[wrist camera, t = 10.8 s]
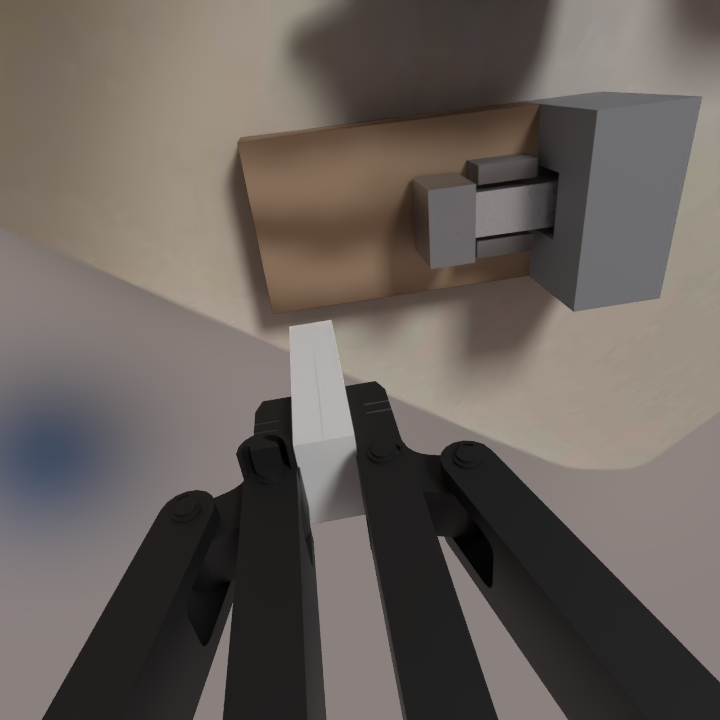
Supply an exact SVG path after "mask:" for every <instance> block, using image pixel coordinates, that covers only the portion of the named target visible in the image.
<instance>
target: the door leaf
mask: <svg viewBox="0 0 720 720" xmlns="http://www.w3.org/2000/svg"><path fill="white" fill-rule="evenodd" d="M539 117H540V104H536V103H527V102H517V103H510V104H502V105H494V106H486V107H478V108H470V109H462V110H455V111H447V112H439V113H431V114H423V115H415V116H407V117H400V118H392V119H384V120H376V121H368V122H360V123H352V124H345V125H337V126H329V127H321V128H313V129H305V130H297V131H290V132H282V133H274V134H266V135H258V136H250V137H242V138H240V139H239V141H238V142H237V144H238V149H239V154H240V159H241V163H242V168H243V173H244V178H245V182H246V187H247V192H248V197H249V202H250V206H251V211H252V216H253V221H254V226H255V230H256V235H257V240H258V245H259V249H260V254H261V259H262V264H263V269H264V273H265V278H266V283H267V288H268V292H269V297H270V302H271V307H272V312H273V314H276V313H282V312H289V311H296V310H302V309H309V308H315V307H322V306H329V305H335V304H342V303H349V302H355V301H362V300H369V299H375V298H382V297H388V296H395V295H402V294H408V293H415V292H422V291H428V290H435V289H442V288H448V287H455V286H462V285H468V284H475V283H481V282H488V281H495V280H501V279H508V278H515V277H521V276H528V275H529V264H530V251H531V250H532V244H533V233H532V230H526V231H519V232H512V233H505V234H498V235H491V236H485V237H478V238H476V240H475V263H470V264H463V265H456V266H449V267H442V268H436V269H430V268H429V266H428V265H427V264H426V263H425V261H424V260H423V259H422V257H421V256H420V255H419V253H418V252H417V251H416V250H415V235H414V214H413V194H412V178H414V177H421V176H429V175H436V174H444V173H451V172H456V173H457V174H459V175H461V176H463V177H465V178H466V179H468V180H470V181H472V182H474V183H475V184H477V185H482V184H489V183H496V182H504V181H511V180H518V179H525V178H533V177H537V172H538V157H537V146H538V131H539Z"/></svg>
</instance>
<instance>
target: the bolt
mask: <svg viewBox="0 0 720 720" xmlns="http://www.w3.org/2000/svg"><path fill="white" fill-rule="evenodd" d="M558 182H559V173H554V174H547V175H539V176H537V177H533V178H525V179H518V180H511V181H504V182H496V183H489V184H482V185H477V184H475V183H474V182H472V181H470V180H468V179H466V178H465V177H463V176H461V175H459V174H457V173H456V172H451V173H444V174H436V175H429V176H421V177H414V178H412V194H413V214H414V235H415V250H416V251H417V252H418V253H419V255H420V256H421V257H422V259H423V260H424V261H425V263H426V264H427V265H428V266H429V268H430V269H436V268H442V267H449V266H456V265H463V264H470V263H475V240H476V238H478V237H485V236H491V235H498V234H505V233H512V232H519V231H526V230H533V229H540V228H547V227H554V226H555V215H556V204H557V193H558Z"/></svg>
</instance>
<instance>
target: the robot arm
mask: <svg viewBox="0 0 720 720" xmlns="http://www.w3.org/2000/svg"><path fill="white" fill-rule="evenodd" d="M289 334H290V366H291V397H286V398H281V399H275V400H269V401H263V402H262V404H261V405H260V406H259V408H258V409H257V411H256V412H255V426H254V436H252V437H250V438H248V439H247V440H245V441H244V442H243V443H242V444H241V445H240V446H239V448H238V451H237V453H236V455H237V458H238V462H239V465H240V468H241V471H242V474H243V477H244V482H242V484H240V485H239V486H238V487H236V488H235V489H233V490H231V491H229V492H227V493H225V494H222V495H220V496H218V497H215V498H213V497H212V495H210V494H209V493H207V492H205V491H199V490H194V491H188V492H185V493H182V494H180V495H177V496H175V497H174V498H173V499H172V500H170V501H169V502H167V503H166V505H165V506H164V507H163V508H162V509H161V511H160V512H159V514H158V516H157V518H156V519H155V521H154V523H153V525H152V526H151V528H150V530H149V532H148V534H147V535H146V537H145V539H144V541H143V542H142V544H141V546H140V548H139V549H138V551H137V553H136V555H135V556H134V559H133V560H132V562H131V563H130V565H129V567H128V569H127V571H126V572H125V574H124V576H123V578H122V579H121V581H120V583H119V585H118V587H117V588H116V590H115V592H114V594H113V595H112V597H111V599H110V601H109V602H108V604H107V606H106V608H105V610H104V611H103V613H102V615H101V616H100V618H99V620H98V622H97V623H96V625H95V627H94V629H93V630H92V632H91V634H90V636H89V638H88V640H87V641H86V643H85V645H84V646H83V648H82V650H81V652H80V653H79V655H78V657H77V659H76V660H75V662H74V664H73V666H72V667H71V669H70V671H69V673H68V675H67V676H66V678H65V680H64V682H63V683H62V685H61V687H60V689H59V690H58V692H57V694H56V696H55V697H54V699H53V701H52V703H51V704H50V706H49V708H48V710H47V712H46V714H45V715H44V717H43V719H42V720H193V717H194V715H195V712H196V708H197V706H198V703H199V700H200V697H201V694H202V691H203V688H204V685H205V682H206V679H207V676H208V674H209V671H210V668H211V665H212V662H213V659H214V656H215V653H216V650H217V647H218V644H219V641H220V638H221V635H222V632H223V629H224V626H225V624H226V621H227V618H228V615H229V612H230V608H231V606H232V603H233V610H232V622H231V633H230V644H229V656H228V667H227V679H226V690H225V701H224V712H223V720H326V708H325V694H324V681H323V666H322V652H321V639H320V625H319V612H318V597H317V583H316V570H315V555H314V541H313V537H312V532H311V528H310V521H311V524H316V523H321V522H327V521H332V520H337V519H343V518H348V517H354V516H359V515H364V514H366V520H367V526H368V533H369V540H370V546H371V550H372V554H373V560H374V565H375V570H376V576H377V581H378V586H379V592H380V597H381V603H382V608H383V613H384V618H385V624H386V630H387V635H388V640H389V646H390V651H391V657H392V662H393V667H394V673H395V678H396V684H397V689H398V694H399V699H400V705H401V711H402V716H403V720H498V718H497V715H496V712H495V709H494V706H493V703H492V700H491V697H490V694H489V691H488V687H487V684H486V682H485V678H484V675H483V672H482V669H481V667H480V663H479V661H478V658H477V654H476V651H475V648H474V645H473V642H472V639H471V636H470V633H469V630H468V627H467V624H466V621H465V618H464V615H463V612H462V609H461V606H460V603H459V600H458V597H457V594H456V591H455V588H454V585H453V582H452V579H451V576H450V573H449V570H448V567H447V564H446V561H445V558H444V555H443V552H442V549H441V546H440V543H439V540H438V537H437V536H444V537H445V539H446V542H447V543H448V545H449V546H450V548H451V549H452V550H453V552H454V553H455V555H456V556H457V558H458V559H459V561H460V562H461V564H462V565H463V567H464V568H465V569H466V571H467V572H468V574H469V575H470V577H471V578H472V580H473V581H474V583H475V584H476V585H477V587H478V588H479V590H480V591H481V593H482V594H483V596H484V597H485V599H486V600H487V602H488V603H489V605H490V606H491V608H492V609H493V610H494V612H495V613H496V615H497V616H498V618H499V619H500V620H501V622H502V624H503V625H504V626H505V628H506V629H507V631H508V632H509V634H510V635H511V637H512V638H513V640H514V641H515V643H516V644H517V646H518V647H519V648H520V650H521V651H522V653H523V654H524V656H525V657H526V658H527V660H528V662H529V663H530V665H531V666H532V668H533V669H534V670H535V672H536V673H537V675H538V676H539V678H540V679H541V681H542V682H543V684H544V685H545V686H546V688H547V689H548V691H549V692H550V694H551V695H552V697H553V698H554V700H555V701H556V703H557V704H558V705H559V707H560V708H561V710H562V711H563V712H564V714H565V716H566V717H567V719H568V720H720V682H719V681H718V680H717V679H716V678H715V677H714V676H713V675H712V674H711V673H710V672H709V671H708V670H707V669H706V668H705V667H704V666H703V665H702V664H701V663H700V662H699V661H698V660H697V659H696V658H695V657H694V656H693V655H692V654H691V653H690V652H689V651H688V650H687V649H686V648H685V647H684V645H683V644H682V643H681V642H679V641H678V639H677V638H676V637H675V636H673V634H672V633H671V632H670V631H669V630H668V629H667V628H666V627H665V626H664V625H663V624H662V623H661V622H660V621H659V620H658V619H657V618H656V617H655V616H654V615H653V614H652V613H651V612H650V611H649V610H648V609H647V608H646V607H645V606H644V605H643V604H642V603H641V602H640V601H639V600H638V599H637V598H636V597H635V596H634V595H633V594H632V593H631V592H630V591H629V590H628V588H627V587H625V585H624V584H623V583H622V582H621V581H620V580H619V579H618V578H616V576H615V575H614V574H613V573H612V572H611V571H610V570H609V569H608V568H607V567H606V566H605V565H604V564H603V563H602V562H601V561H600V560H599V559H598V558H597V557H596V556H595V555H594V554H593V553H592V552H591V551H590V550H589V549H588V548H587V547H586V546H585V545H584V544H583V543H582V542H581V541H580V540H579V539H578V538H577V537H576V536H575V535H574V534H573V533H572V531H570V529H569V528H568V527H567V526H566V525H565V524H564V523H563V522H562V521H561V520H560V519H558V517H557V516H556V515H555V514H554V513H553V512H552V511H551V510H550V509H549V508H548V507H547V506H546V505H545V504H544V503H543V502H542V501H541V500H540V499H539V498H538V497H537V496H536V495H535V494H534V493H533V492H532V491H531V490H530V489H529V488H528V487H527V486H526V485H525V484H524V483H523V482H522V481H521V480H520V479H519V478H518V477H517V476H516V475H515V473H513V471H512V470H511V469H510V468H509V467H508V466H507V465H506V464H505V463H504V462H503V461H502V460H501V459H500V458H499V457H498V456H497V455H496V454H495V453H494V452H493V451H492V450H491V449H489V448H488V447H486V446H485V445H484V444H481V443H478V442H474V441H460V442H455V443H452V444H451V445H449V446H447V447H446V448H445V449H444V450H443V451H442V453H441V455H427V454H421V453H417V452H415V451H413V450H411V449H409V448H408V447H407V446H406V445H405V443H403V441H402V440H401V437H400V434H399V431H398V428H397V425H396V422H395V419H394V415H393V413H392V410H391V406H390V403H389V401H388V397H387V394H386V391H385V389H384V388H383V387H382V386H381V385H379V384H378V383H377V382H376V381H374V382H368V383H362V384H356V385H350V386H345V385H344V380H343V375H342V370H341V365H340V360H339V355H338V350H337V345H336V340H335V335H334V330H333V325H332V321H331V320H327V321H321V322H315V323H309V324H302V325H296V326H290V327H289Z"/></svg>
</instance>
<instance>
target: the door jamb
mask: <svg viewBox="0 0 720 720" xmlns="http://www.w3.org/2000/svg"><path fill="white" fill-rule="evenodd" d="M701 99H702V97H699V96H679V95H658V94H638V93H618V92H596V93H588V94H580V95H572V96H565V97H557V98H549V99H541V100H533V101H525V102H527V103H536V104H540V117H539V131H538V146H537V157H538V172H537V176H539V175H547V174H554V173H559V182H558V193H557V204H556V215H555V226H554V227H547V228H540V229H533V230H532V233H533V244H532V250H531V251H530V264H529V276H530V277H531V278H533V279H534V280H535V281H536V282H538V283H539V284H540V285H541V286H542V287H544V288H545V289H546V290H547V291H549V292H550V293H551V294H552V295H554V296H555V297H556V298H557V299H559V300H560V301H561V302H562V303H564V304H565V305H566V306H567V307H568V308H570V309H571V310H572V311H573V312H574V311H581V310H587V309H593V308H600V307H606V306H613V305H619V304H625V303H632V302H638V301H645V300H651V299H657V298H660V294H661V289H662V285H663V280H664V275H665V270H666V266H667V261H668V256H669V251H670V247H671V242H672V237H673V232H674V228H675V223H676V218H677V213H678V209H679V204H680V199H681V194H682V190H683V185H684V180H685V175H686V171H687V166H688V161H689V156H690V152H691V147H692V142H693V137H694V133H695V128H696V123H697V118H698V114H699V109H700V104H701Z"/></svg>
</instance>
